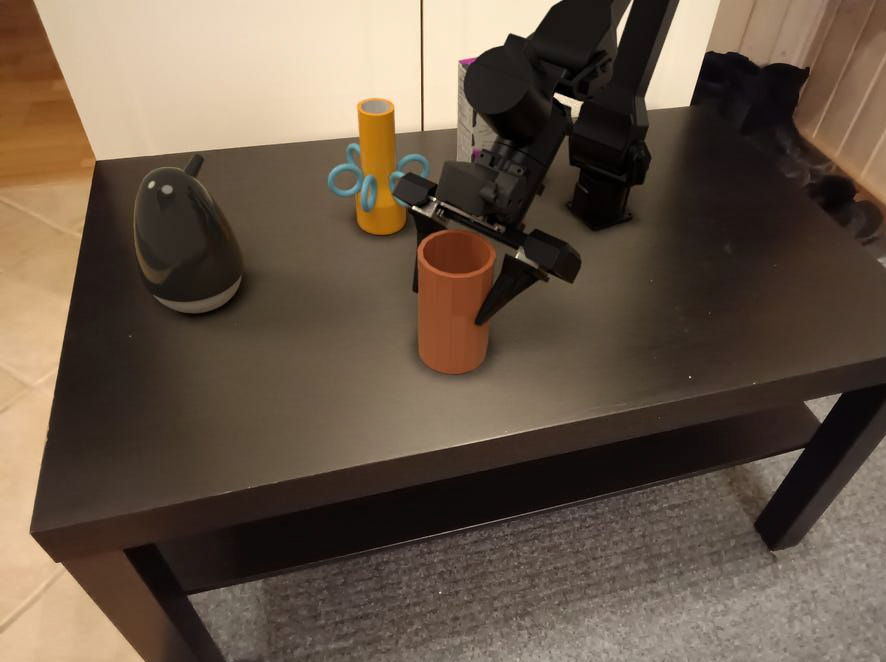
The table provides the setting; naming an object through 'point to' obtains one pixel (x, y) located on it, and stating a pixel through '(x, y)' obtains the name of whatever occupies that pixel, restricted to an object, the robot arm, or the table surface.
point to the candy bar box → (470, 123)
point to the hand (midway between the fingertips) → (445, 308)
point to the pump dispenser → (184, 241)
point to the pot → (453, 299)
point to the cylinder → (376, 169)
